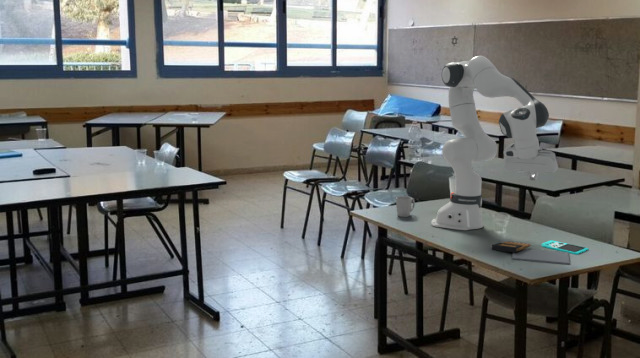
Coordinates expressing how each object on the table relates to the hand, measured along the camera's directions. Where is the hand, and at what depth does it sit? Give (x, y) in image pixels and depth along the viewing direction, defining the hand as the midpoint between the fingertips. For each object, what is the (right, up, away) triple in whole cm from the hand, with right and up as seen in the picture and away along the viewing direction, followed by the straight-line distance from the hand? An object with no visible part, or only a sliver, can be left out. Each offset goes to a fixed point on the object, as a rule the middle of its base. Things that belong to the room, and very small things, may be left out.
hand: (533, 179), depth 261 cm
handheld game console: (+13, -27, +3) cm, 30 cm away
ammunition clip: (-13, -26, -4) cm, 30 cm away
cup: (-43, -17, +54) cm, 71 cm away
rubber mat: (0, -29, -9) cm, 30 cm away
